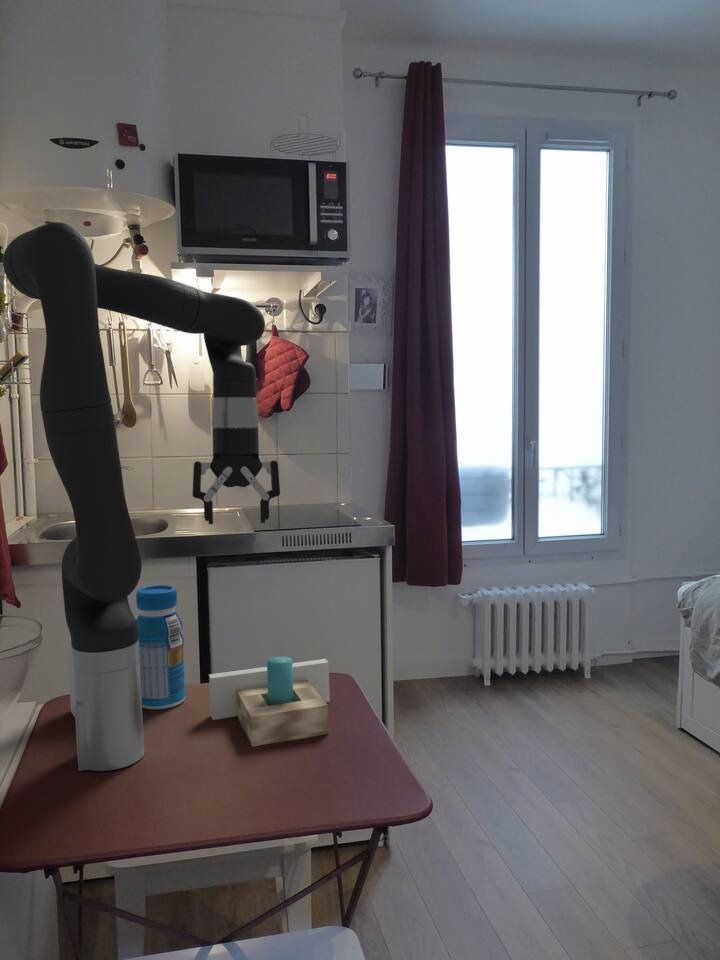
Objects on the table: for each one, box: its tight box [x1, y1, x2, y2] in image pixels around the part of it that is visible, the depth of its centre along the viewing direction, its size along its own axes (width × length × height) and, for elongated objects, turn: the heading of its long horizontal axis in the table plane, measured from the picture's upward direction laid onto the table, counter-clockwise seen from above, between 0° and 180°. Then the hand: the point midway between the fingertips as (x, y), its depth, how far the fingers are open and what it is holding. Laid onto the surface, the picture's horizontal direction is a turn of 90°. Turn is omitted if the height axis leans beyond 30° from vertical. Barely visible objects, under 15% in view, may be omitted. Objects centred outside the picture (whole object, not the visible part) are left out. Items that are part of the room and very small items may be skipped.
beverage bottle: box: [135, 584, 186, 710], centre depth 136 cm, size 8×8×20 cm
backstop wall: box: [208, 658, 331, 721], centre depth 133 cm, size 20×2×7 cm, turn 109°
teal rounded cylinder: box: [266, 656, 293, 706], centre depth 125 cm, size 4×4×10 cm
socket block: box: [237, 680, 330, 747], centre depth 126 cm, size 12×12×5 cm
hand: (237, 523), depth 131 cm, fingers open, 8 cm apart
